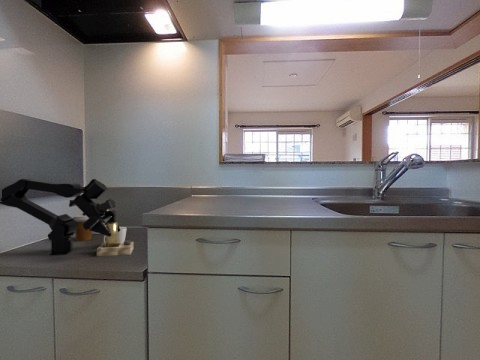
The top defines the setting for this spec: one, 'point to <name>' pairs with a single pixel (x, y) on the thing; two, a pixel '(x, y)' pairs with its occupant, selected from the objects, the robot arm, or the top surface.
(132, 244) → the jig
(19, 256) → the top surface
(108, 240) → the tan piece
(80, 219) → the disposable coffee cup
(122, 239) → the cup
